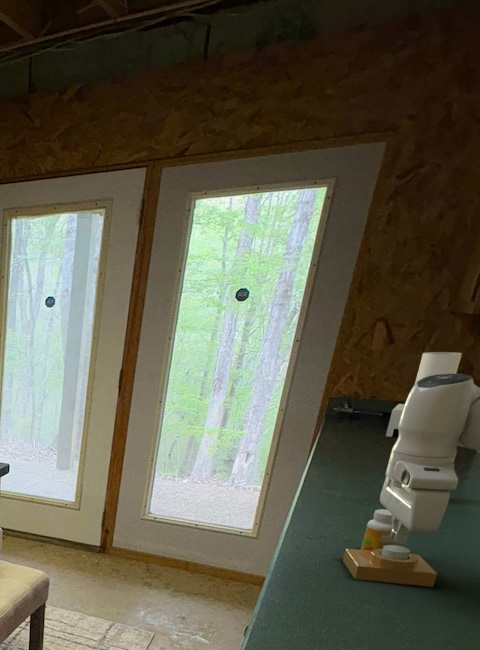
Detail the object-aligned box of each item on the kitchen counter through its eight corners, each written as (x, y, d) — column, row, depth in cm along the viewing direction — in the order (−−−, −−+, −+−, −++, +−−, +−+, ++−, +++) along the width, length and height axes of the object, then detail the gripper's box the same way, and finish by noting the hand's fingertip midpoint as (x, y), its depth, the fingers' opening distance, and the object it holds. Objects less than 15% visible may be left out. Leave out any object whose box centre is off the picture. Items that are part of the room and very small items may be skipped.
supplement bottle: (354, 551, 134) (365, 507, 130) (383, 552, 132) (395, 508, 129) (367, 560, 129) (379, 515, 125) (397, 561, 128) (409, 516, 124)
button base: (414, 569, 123) (421, 546, 122) (433, 590, 115) (441, 565, 113) (342, 563, 128) (347, 540, 126) (354, 582, 119) (360, 557, 117)
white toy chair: (453, 433, 241) (477, 351, 230) (449, 441, 228) (475, 355, 217) (392, 428, 253) (412, 351, 242) (385, 436, 240) (406, 354, 229)
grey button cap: (403, 554, 119) (406, 546, 118) (410, 562, 116) (413, 553, 115) (378, 552, 121) (380, 544, 120) (384, 559, 117) (386, 551, 117)
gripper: (380, 455, 122) (363, 522, 127) (415, 480, 105) (393, 557, 110) (421, 457, 119) (401, 525, 125) (462, 483, 102) (438, 561, 107)
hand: (397, 540), depth 117 cm, fingers closed
